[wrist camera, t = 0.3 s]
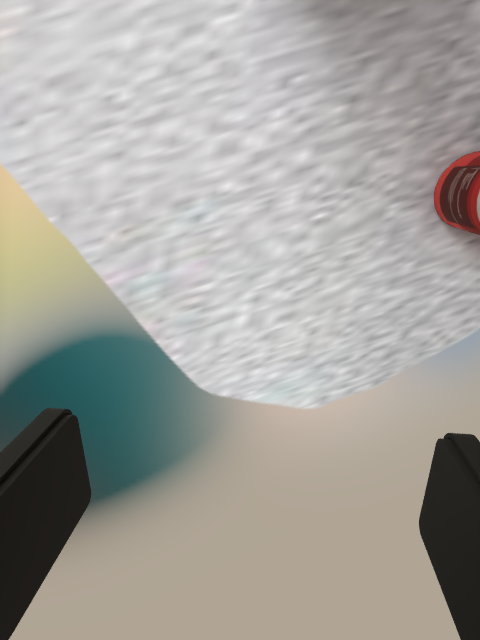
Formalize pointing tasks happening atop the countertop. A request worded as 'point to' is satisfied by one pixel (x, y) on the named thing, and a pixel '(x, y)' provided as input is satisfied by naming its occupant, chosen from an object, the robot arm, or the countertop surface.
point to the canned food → (460, 193)
